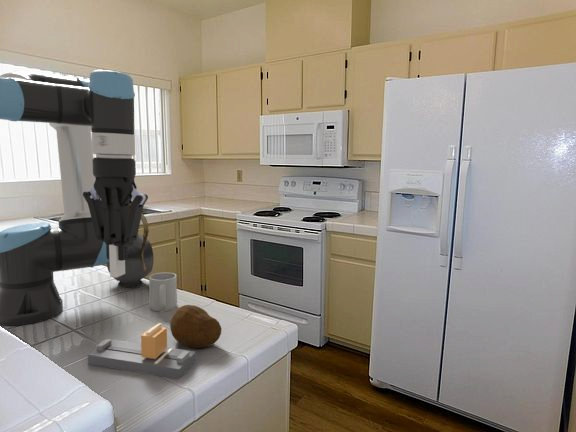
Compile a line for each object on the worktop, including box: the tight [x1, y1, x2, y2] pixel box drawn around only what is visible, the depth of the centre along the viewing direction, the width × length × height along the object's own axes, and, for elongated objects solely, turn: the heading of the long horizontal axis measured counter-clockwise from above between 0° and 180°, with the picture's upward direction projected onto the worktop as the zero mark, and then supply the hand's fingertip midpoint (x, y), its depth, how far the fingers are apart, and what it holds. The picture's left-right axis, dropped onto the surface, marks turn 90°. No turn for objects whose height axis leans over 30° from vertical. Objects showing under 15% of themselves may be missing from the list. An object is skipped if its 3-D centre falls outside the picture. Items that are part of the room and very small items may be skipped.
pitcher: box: [106, 198, 155, 289], centre depth 122 cm, size 11×19×30 cm, turn 49°
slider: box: [140, 322, 168, 359], centre depth 77 cm, size 3×4×5 cm
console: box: [87, 338, 197, 380], centre depth 78 cm, size 20×7×3 cm, turn 77°
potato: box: [169, 304, 222, 349], centre depth 86 cm, size 8×12×9 cm
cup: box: [148, 272, 178, 312], centre depth 106 cm, size 7×10×9 cm
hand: (117, 275), depth 77 cm, fingers closed
